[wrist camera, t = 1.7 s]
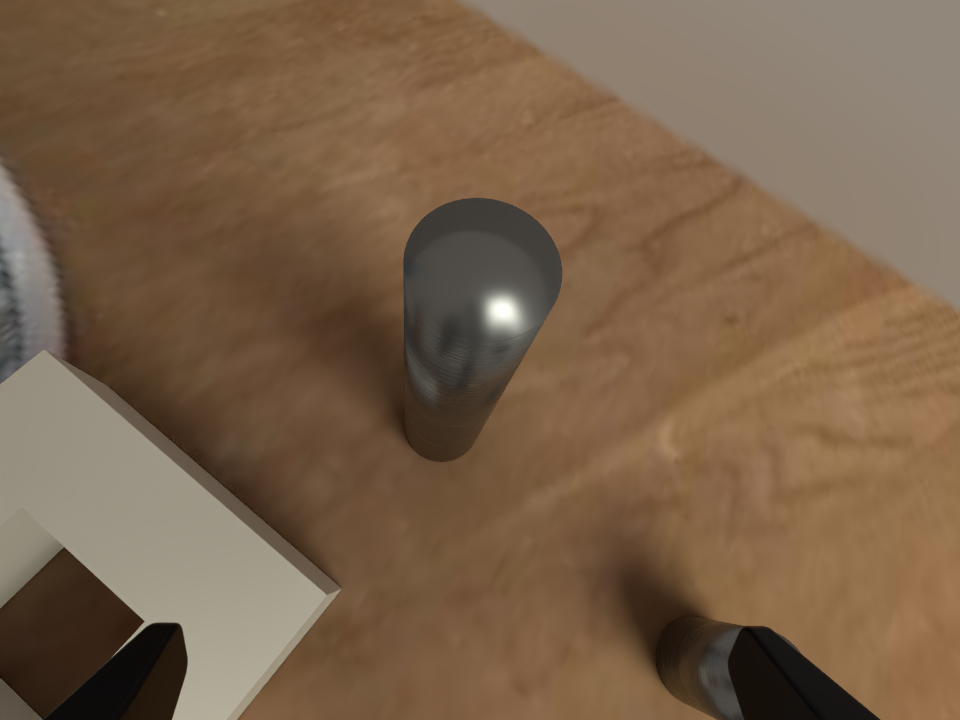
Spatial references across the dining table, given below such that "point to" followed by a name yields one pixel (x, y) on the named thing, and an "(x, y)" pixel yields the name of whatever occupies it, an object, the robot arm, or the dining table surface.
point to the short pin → (700, 664)
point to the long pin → (470, 316)
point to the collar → (147, 536)
